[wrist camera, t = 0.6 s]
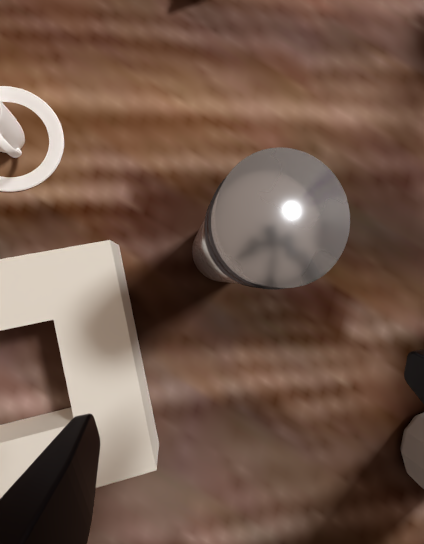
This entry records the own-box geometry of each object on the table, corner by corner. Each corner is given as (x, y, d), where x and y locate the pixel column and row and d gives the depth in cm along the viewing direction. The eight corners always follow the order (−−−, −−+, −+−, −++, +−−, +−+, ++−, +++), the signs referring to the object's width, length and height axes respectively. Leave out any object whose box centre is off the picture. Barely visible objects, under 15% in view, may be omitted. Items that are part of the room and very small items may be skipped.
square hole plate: (159, 443, 22) (156, 470, 19) (-66, 506, 19) (-109, 547, 16) (119, 245, 21) (109, 240, 18) (-112, 286, 19) (-164, 287, 16)
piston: (258, 276, 23) (364, 275, 10) (197, 288, 22) (228, 304, 9) (246, 215, 23) (337, 136, 10) (185, 225, 22) (199, 155, 9)
